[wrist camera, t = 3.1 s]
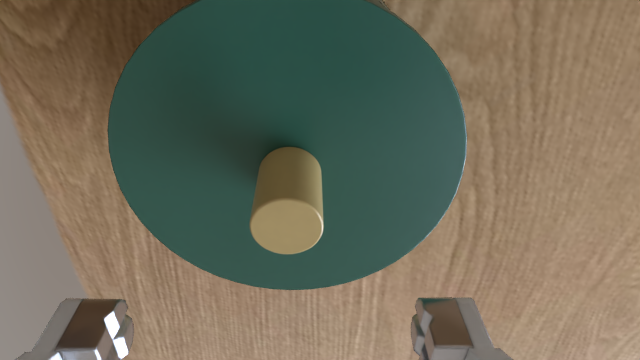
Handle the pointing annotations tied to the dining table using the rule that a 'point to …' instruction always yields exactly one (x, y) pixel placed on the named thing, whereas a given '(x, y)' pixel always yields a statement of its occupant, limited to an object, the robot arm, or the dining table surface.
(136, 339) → the dining table surface
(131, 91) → the lid
